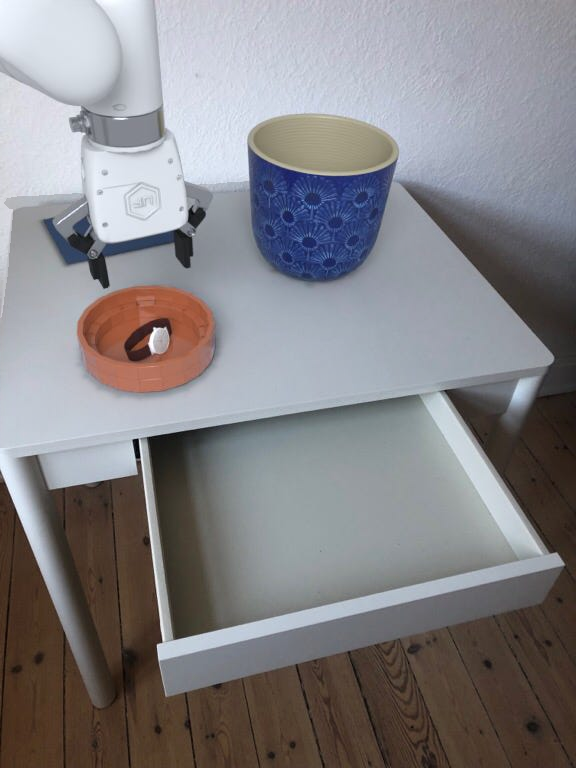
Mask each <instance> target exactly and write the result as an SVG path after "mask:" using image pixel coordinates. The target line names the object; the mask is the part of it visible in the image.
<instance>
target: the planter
mask: <svg viewBox="0 0 576 768" xmlns="http://www.w3.org/2000/svg"><path fill="white" fill-rule="evenodd" d="M246 141H247V162H248V177H249V178H248V181H249V183H248V184H249V200H250V201H249V202H250V219H251V228H252V233H253V238H254V241H255V243H256V247H257V248H258V250H259V253H260V254H261V256H262V257H263V258H264V259H265V261H266V262H268V263H269V265H270V266H271V267H272V268H274V269H275V270H276V271H278V272H279V273H282V274H284V275H286V276H287V277H291V278H292V279H293V278H294V279H297V280H301V281H307V282H327V281H332V280H337V279H340V278H343V277H345V276H347V275H349V274H351V273H353V272H354V271H356V270H357V269H358V268H359V267H360V266H362V265H363V263H364V262H365V261H366V260H367V258H368V257H369V256H370V254H371V253H372V250H373V249H374V246H375V244H376V242H377V239H378V237H379V233H380V230H381V225H382V222H383V218H384V213H385V210H386V206H387V202H388V200H389V199H388V198H389V194H390V191H391V186H392V183H393V178H394V174H395V171H396V167H397V164H398V160H399V155H400V147H399V145H398V143H397V141H396V140H395V138H393V136H392V135H390V134H389V133H387V132H386V131H385V130H383V129H381V128H380V127H378V126H376V125H374V124H371V123H369V122H366V121H363V120H359V119H355V118H352V117H347V116H341V115H337V114H336V115H335V114H327V113H311V112H309V113H292V114H285V115H279V116H274V117H271V118H269V119H266V120H264V121H261V122H259V123H257V124H256V125H255V126H254V127H253V128H252V129H251V130H250V131H249V132H248V134H247V139H246Z"/></svg>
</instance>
